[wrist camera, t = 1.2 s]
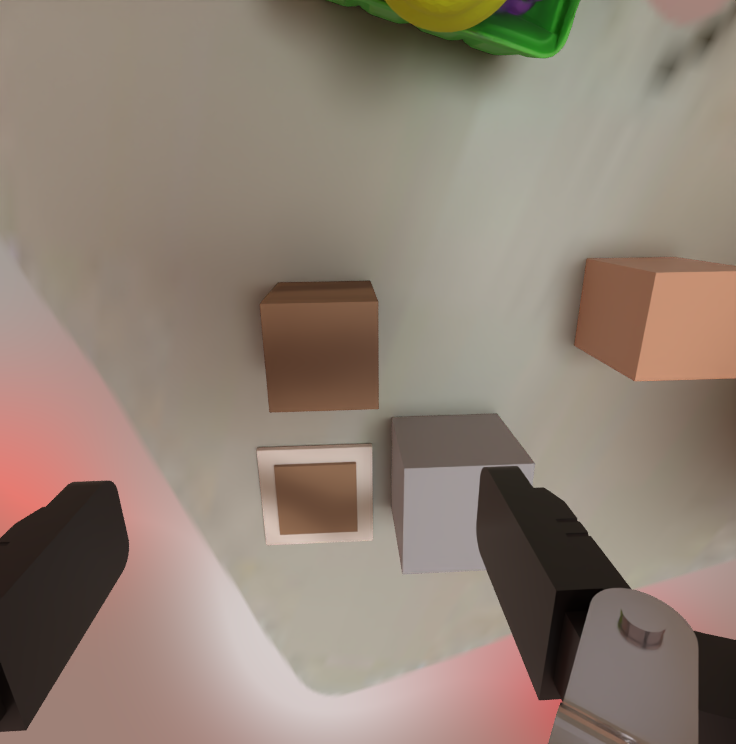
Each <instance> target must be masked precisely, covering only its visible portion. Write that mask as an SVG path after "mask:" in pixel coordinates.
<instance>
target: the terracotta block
mask: <svg viewBox="0 0 736 744" xmlns="http://www.w3.org/2000/svg"><path fill="white" fill-rule="evenodd" d="M574 346H576V347H578V348H579V349H581V350H583V351H584V352H586V353H588V354H589V355H591V356H593V357H595V358H596V359H598V360H600V361H601V362H603V363H605V364H606V365H608V366H610V367H611V368H613V369H615V370H617V371H618V372H620V373H622V374H623V375H625V376H627V377H628V378H630V379H632V380H633V381H661V380H694V379H728V378H736V266H733V265H726V264H719V263H712V262H706V261H699V260H692V259H685V258H678V257H642V258H587V261H586V268H585V274H584V281H583V288H582V295H581V302H580V309H579V316H578V323H577V329H576V336H575V343H574Z"/></svg>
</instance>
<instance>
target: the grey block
mask: <svg viewBox="0 0 736 744" xmlns="http://www.w3.org/2000/svg"><path fill="white" fill-rule="evenodd" d="M497 466H518V467H519V468H520V469H521V471H522V472H523V473H524V475H525V476H526V478H527V479H528V481H529V482H530V484H531V485H532V484H533V476H534V468H535V463H534V462H533V460H532V459H531V458H530V456H529V455H528V454H527V452H526V451H525V450H524V448H523V447H522V446H521V444H520V443H519V442H518V440H517V439H516V438H515V437H514V435H513V434H512V433H511V431H510V430H509V429H508V427H507V426H506V425H505V423H504V422H503V421H502V419H501V418H500V417H499V415H498V414H467V415H437V416H406V417H392V475H391V508H392V514H393V520H394V526H395V532H396V538H397V544H398V550H399V556H400V562H401V568H402V574H419V573H439V572H459V571H479V570H486V568H485V565H484V563H483V560H482V558H481V555H480V552H479V548H478V543H477V535H476V521H477V508H478V496H479V483H480V474H481V470H482V468H483V467H497Z"/></svg>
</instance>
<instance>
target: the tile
mask: <svg viewBox="0 0 736 744" xmlns="http://www.w3.org/2000/svg"><path fill="white" fill-rule="evenodd" d="M257 460H258V469H259V479H260V488H261V498H262V507H263V517H264V526H265V536H266V545H283V544H305V543H327V542H349V541H371V540H373V488H372V444H347V445H319V446H290V447H262V448H257Z"/></svg>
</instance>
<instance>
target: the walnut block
mask: <svg viewBox="0 0 736 744" xmlns="http://www.w3.org/2000/svg"><path fill="white" fill-rule="evenodd" d="M260 314H261V325H262V335H263V346H264V357H265V368H266V379H267V390H268V401H269V412H299V411H331V410H362V409H379V378H378V300H377V297H376V295H375V292H374V289H373V287H372V284H371V282H370V281H333V282H281V283H277V285H276V286H275V287H274V288H273V289H272V290H271V291H270V293H269V294H268V295H267V296H266V297H265V298H264V300H263V301H262V302H261V303H260Z"/></svg>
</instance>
